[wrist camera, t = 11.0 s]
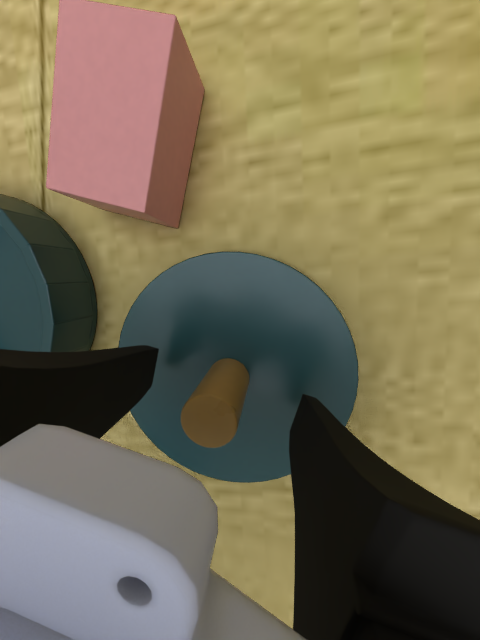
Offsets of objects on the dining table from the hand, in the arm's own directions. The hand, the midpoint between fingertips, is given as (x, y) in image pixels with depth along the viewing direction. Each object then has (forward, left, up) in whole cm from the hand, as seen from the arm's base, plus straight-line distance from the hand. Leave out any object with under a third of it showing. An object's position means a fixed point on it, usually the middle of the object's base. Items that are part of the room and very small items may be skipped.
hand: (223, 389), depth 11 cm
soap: (+10, -7, -3) cm, 13 cm away
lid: (0, 0, -2) cm, 2 cm away
